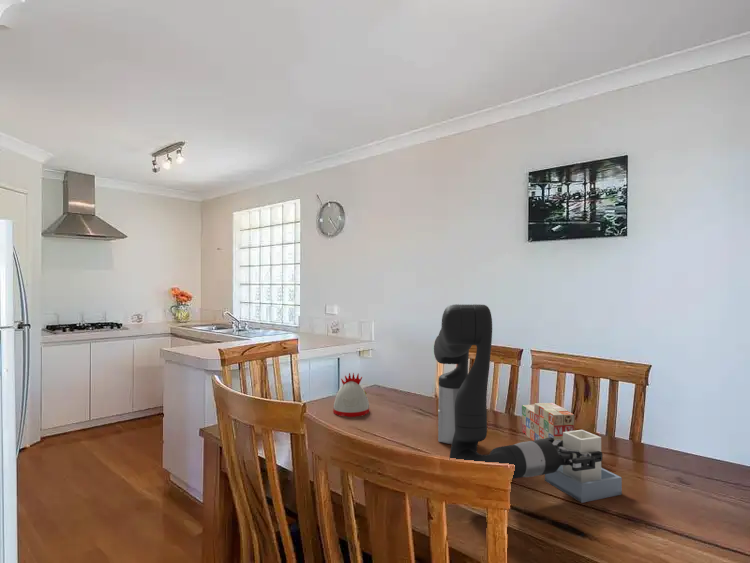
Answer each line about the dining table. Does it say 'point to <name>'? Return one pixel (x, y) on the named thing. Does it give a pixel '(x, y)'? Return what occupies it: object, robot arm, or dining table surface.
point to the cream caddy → (584, 444)
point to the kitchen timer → (351, 399)
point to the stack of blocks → (546, 421)
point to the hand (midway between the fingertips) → (587, 449)
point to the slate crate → (586, 485)
